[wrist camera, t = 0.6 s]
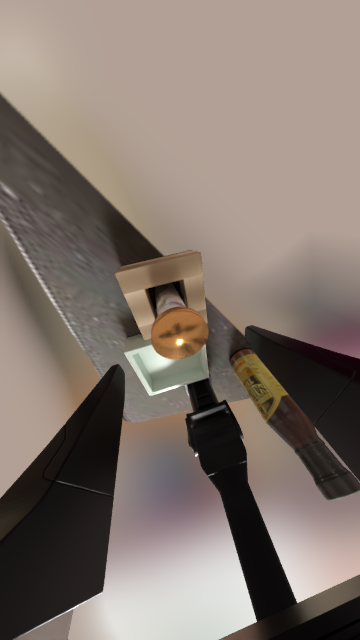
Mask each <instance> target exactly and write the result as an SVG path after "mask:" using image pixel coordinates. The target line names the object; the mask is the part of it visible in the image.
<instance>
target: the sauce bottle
mask: <svg viewBox="0 0 360 640" xmlns="http://www.w3.org/2000/svg"><path fill="white" fill-rule="evenodd" d="M230 364H231V366H232V368H233V371H234V373H235V374H236V376H237V377H238V379H239V381H240V382H241V384H242V385H243V387H244V388H245V390H246V392H247V393H248V395H249V396H250V398H251V399H252V401H253V402H254V404H255V406H256V407H257V409H258V411H259V412H260V414H261V415H262V417H263V419H264V420H265V422H266V423H267V424H268V425H269V426H270V427H271V428H272V429H273V430H274V431H275V432H276V433H277V434H278V435H279V436H280V437H281V438H282V439H283V440H284V441H285V442H286V443H287V444H288V445H290V447H292V448H293V449H294V451H295V453H296V454H297V455H298V456H299V458H300V459H301V461H302V462H303V464H304V465H305V466H306V468H307V470H308V471H309V472H310V474H311V475H312V477H313V479H314V481H315V483H316V486H317V487H318V488H319V490H320V491H321V493H322V494H323V495H324V497H325V498H326V499H327V500H328V501H334V500H338V499H341V498H345V497H347V496H350V495H353V494H355V493H358V492H360V483H359V482H358V480H357V479H356V478H355V477H354V476H353V474H352V473H351V472H350V471H348V470H347V469H346V468H345V467H344V466H342V464H341V463H340V462H339V461H338V460H337V458H336V457H335V456H334V455H333V453H332V452H331V451H330V450H329V449H328V448H327V446H326V445H325V443H324V442H323V441H322V440H321V439H320V438H319V437H318V435H317V433H316V430H315V427H314V424H312V422H311V421H310V420H309V419H308V418H307V416H306V415H305V414H304V413H303V411H302V410H301V409H300V408H299V407H298V405H297V404H296V403H295V402H294V401H293V399H292V398H291V397H290V396H289V394H288V393H287V392H286V391H285V390H284V388H283V387H282V386H281V385H280V383H279V382H278V381H277V380H276V379H275V377H274V376H273V375H272V374H271V373H270V371H269V370H268V369H267V368H266V366H265V365H264V364H263V363H262V362H261V360H260V359H259V358H258V357H257V355H256V354H255V353H254V351H252V350H250V349H243V350H240V351H238V352H237V353H235V354H234V355H233V356H232V358H231V360H230Z"/></svg>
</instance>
